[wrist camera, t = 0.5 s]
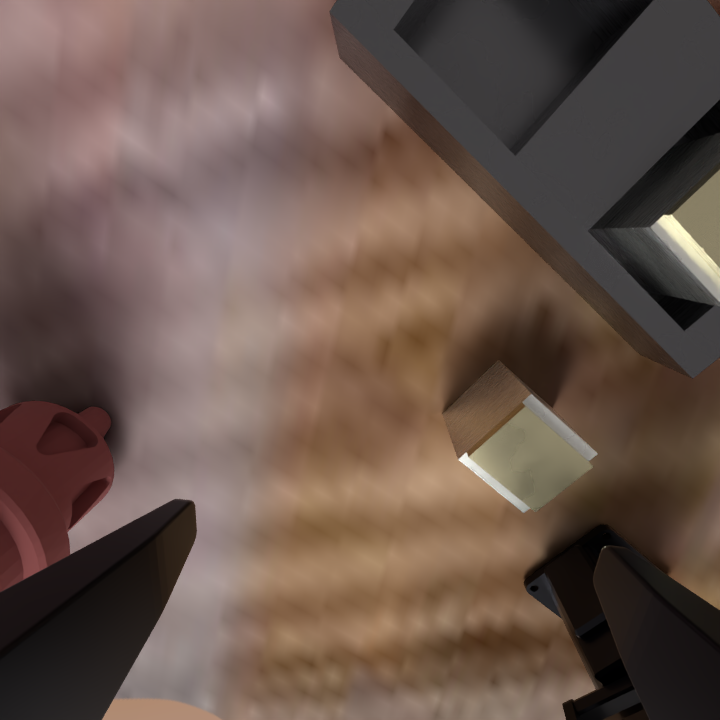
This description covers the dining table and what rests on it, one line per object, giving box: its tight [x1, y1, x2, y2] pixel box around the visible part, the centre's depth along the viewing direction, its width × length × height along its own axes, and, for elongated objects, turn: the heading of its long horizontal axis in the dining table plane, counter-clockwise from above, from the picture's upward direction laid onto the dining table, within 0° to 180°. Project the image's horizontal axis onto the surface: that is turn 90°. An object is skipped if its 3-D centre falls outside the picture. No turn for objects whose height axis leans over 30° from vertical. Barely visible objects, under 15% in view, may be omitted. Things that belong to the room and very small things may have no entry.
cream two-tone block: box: [442, 360, 598, 513], centre depth 19 cm, size 4×4×5 cm
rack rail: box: [330, 0, 720, 378], centre depth 15 cm, size 20×8×4 cm, turn 50°
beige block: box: [588, 133, 720, 306], centre depth 15 cm, size 4×4×5 cm
